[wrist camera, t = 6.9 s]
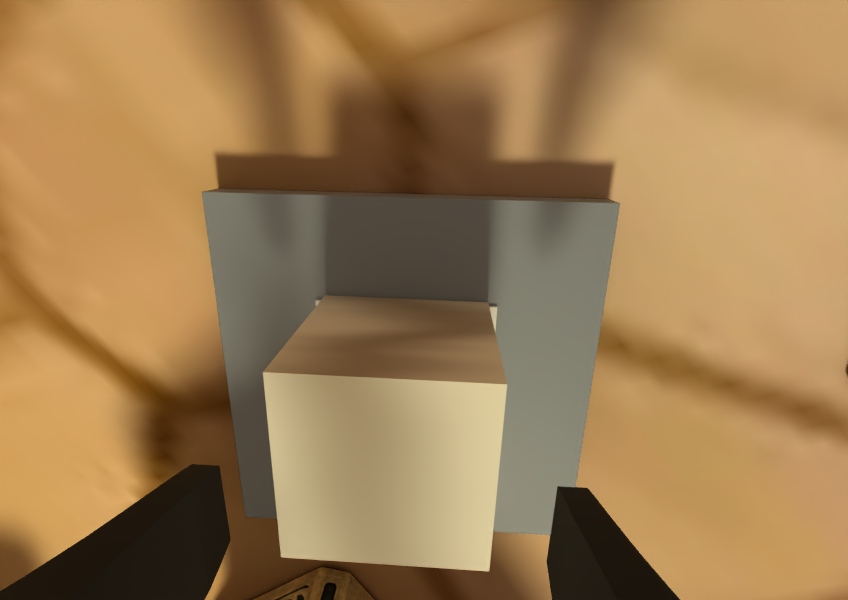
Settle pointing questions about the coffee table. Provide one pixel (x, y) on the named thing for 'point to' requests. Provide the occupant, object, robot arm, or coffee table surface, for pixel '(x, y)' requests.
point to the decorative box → (320, 587)
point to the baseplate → (429, 280)
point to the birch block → (388, 433)
